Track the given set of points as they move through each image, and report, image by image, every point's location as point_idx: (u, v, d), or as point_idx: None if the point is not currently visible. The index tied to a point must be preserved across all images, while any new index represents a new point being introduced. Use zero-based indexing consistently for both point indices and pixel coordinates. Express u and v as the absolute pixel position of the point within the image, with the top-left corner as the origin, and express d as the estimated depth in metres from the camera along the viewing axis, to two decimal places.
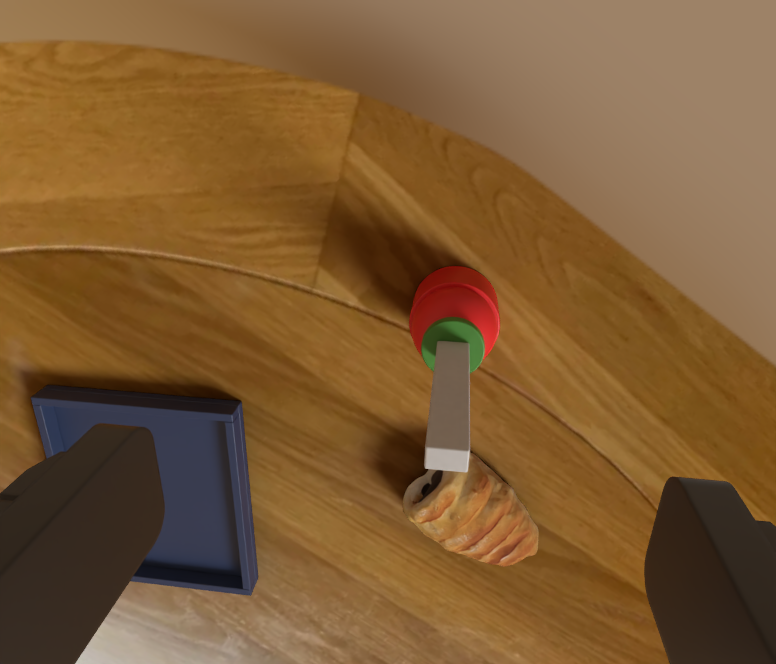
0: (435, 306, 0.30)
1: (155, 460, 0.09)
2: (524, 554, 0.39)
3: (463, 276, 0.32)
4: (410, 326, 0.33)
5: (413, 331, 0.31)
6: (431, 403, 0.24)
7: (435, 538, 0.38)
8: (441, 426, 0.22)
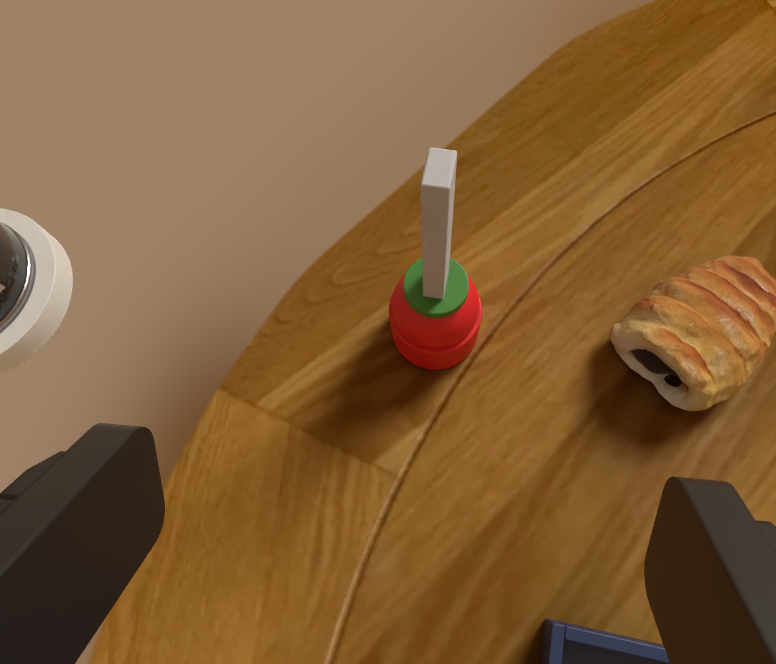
0: (399, 310, 0.30)
1: (155, 460, 0.09)
2: (753, 265, 0.32)
3: None
4: (432, 352, 0.30)
5: (427, 337, 0.29)
6: (422, 230, 0.22)
7: (737, 362, 0.29)
8: None
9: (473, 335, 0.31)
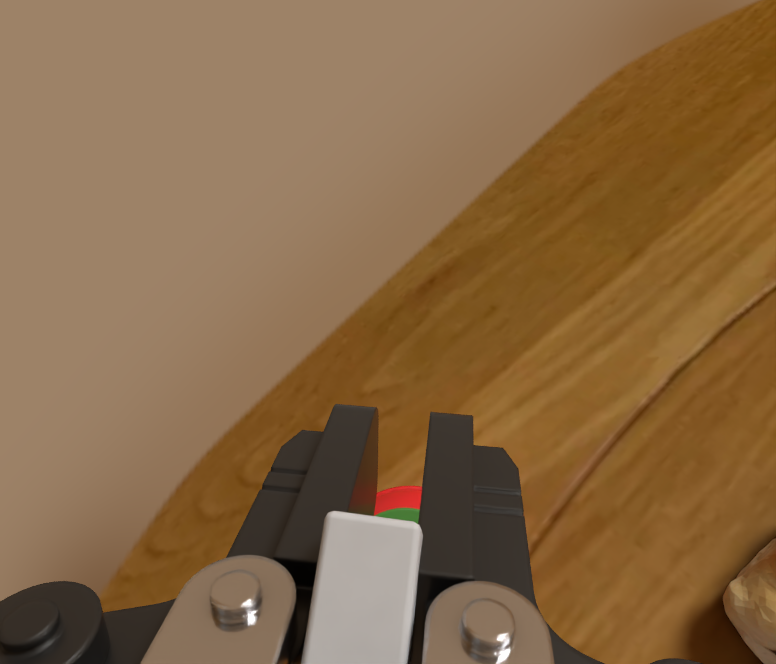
0: None
1: (377, 440, 0.10)
2: None
3: None
4: None
5: None
6: None
7: None
8: None
9: None
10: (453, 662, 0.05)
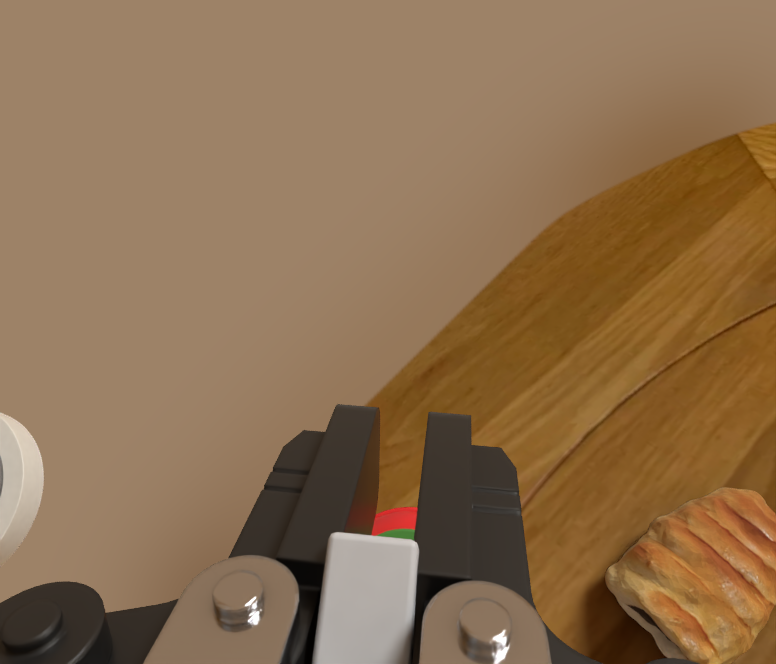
0: None
1: (379, 440, 0.10)
2: (756, 507, 0.30)
3: None
4: None
5: None
6: None
7: (741, 632, 0.27)
8: None
9: None
10: (450, 662, 0.05)
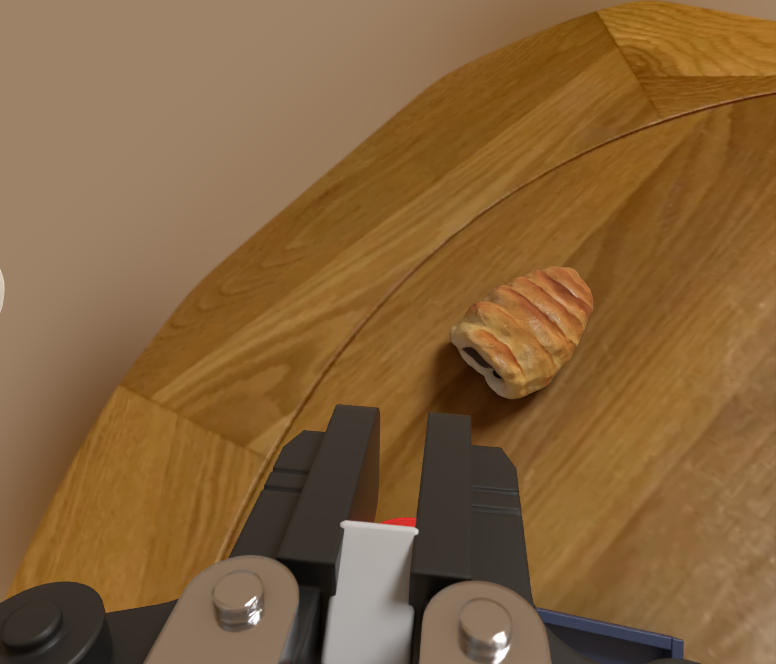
0: None
1: (379, 439, 0.10)
2: (568, 274, 0.37)
3: None
4: None
5: None
6: None
7: (543, 357, 0.35)
8: None
9: None
10: (450, 662, 0.05)
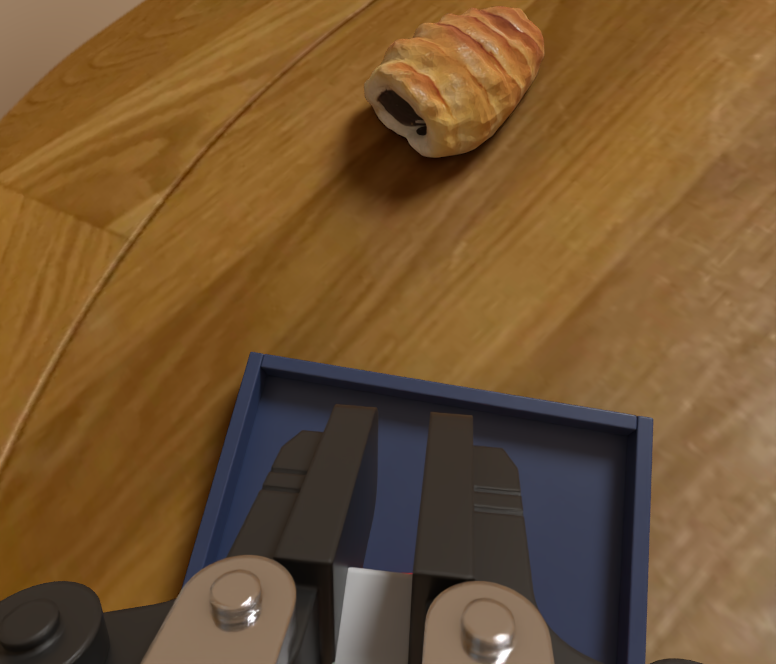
0: None
1: (377, 439, 0.10)
2: (511, 9, 0.29)
3: None
4: None
5: None
6: None
7: (475, 91, 0.27)
8: None
9: None
10: (452, 662, 0.05)
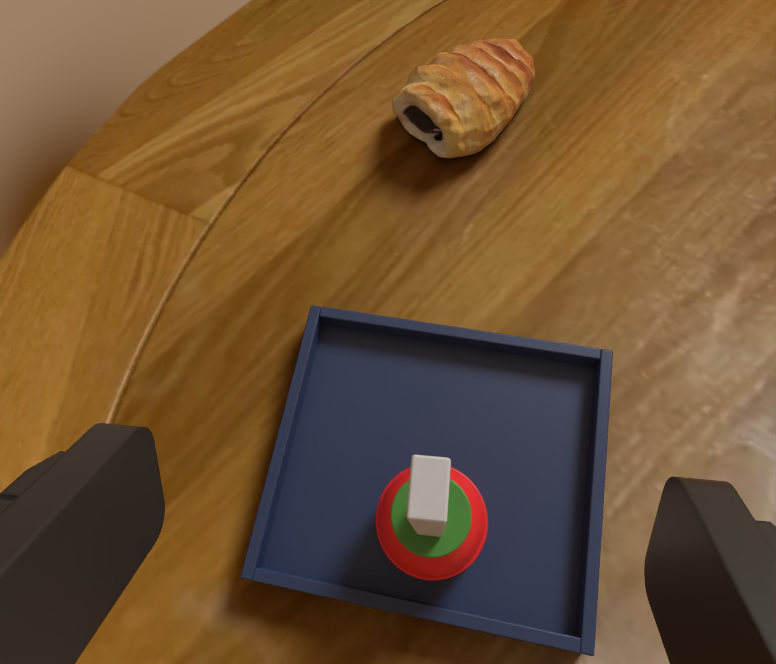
0: (389, 538, 0.24)
1: (155, 460, 0.09)
2: (509, 41, 0.37)
3: None
4: (433, 578, 0.25)
5: (426, 571, 0.24)
6: None
7: (480, 106, 0.35)
8: None
9: (480, 550, 0.25)
10: None
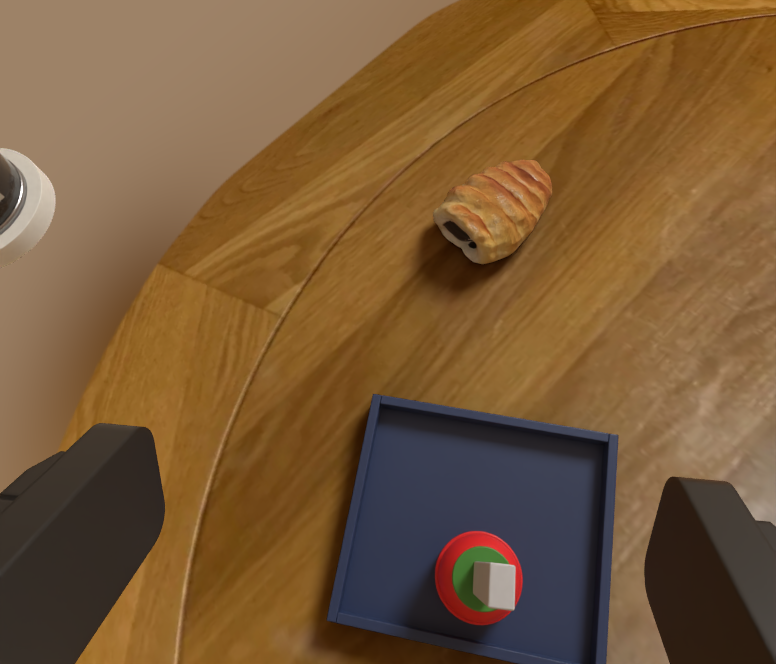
0: (448, 594, 0.32)
1: (155, 460, 0.09)
2: (530, 164, 0.45)
3: None
4: (481, 623, 0.33)
5: (477, 620, 0.31)
6: (482, 601, 0.25)
7: (508, 225, 0.42)
8: (485, 590, 0.23)
9: (517, 601, 0.33)
10: None
